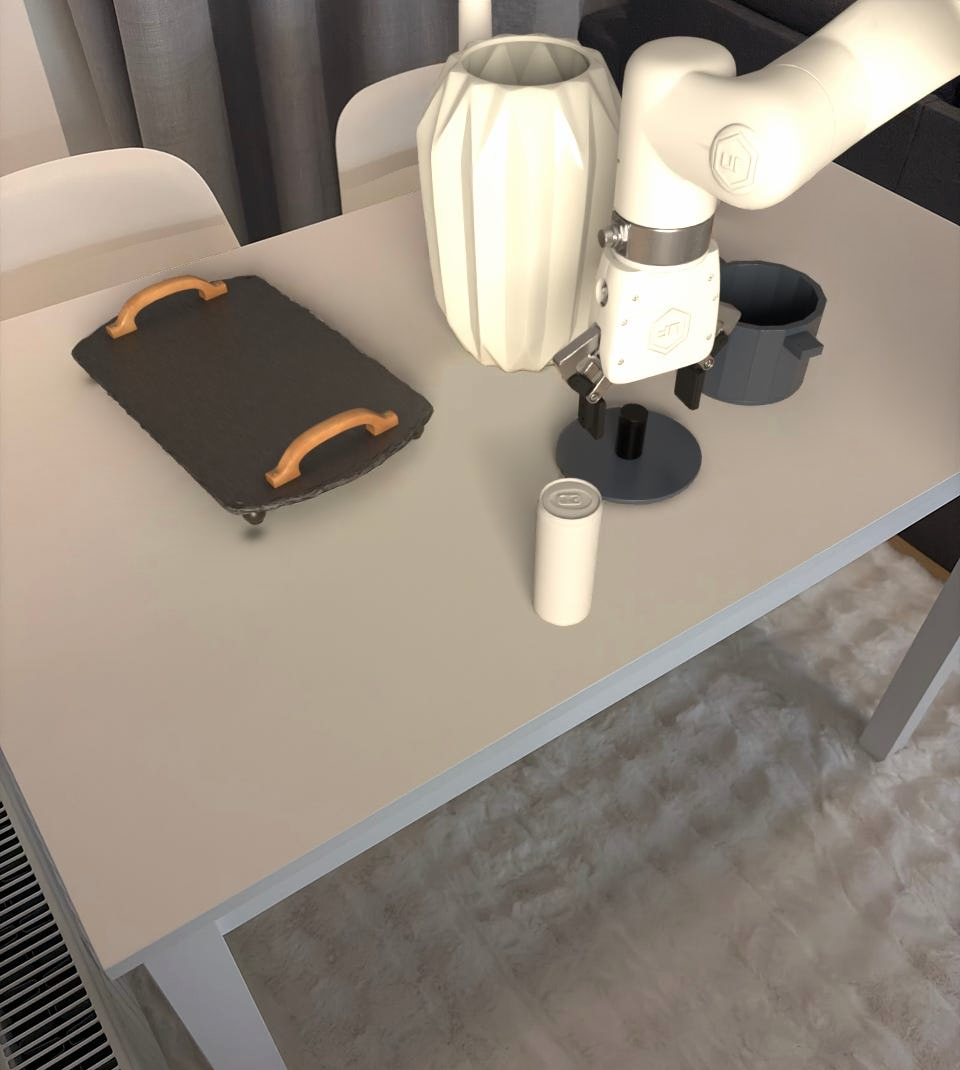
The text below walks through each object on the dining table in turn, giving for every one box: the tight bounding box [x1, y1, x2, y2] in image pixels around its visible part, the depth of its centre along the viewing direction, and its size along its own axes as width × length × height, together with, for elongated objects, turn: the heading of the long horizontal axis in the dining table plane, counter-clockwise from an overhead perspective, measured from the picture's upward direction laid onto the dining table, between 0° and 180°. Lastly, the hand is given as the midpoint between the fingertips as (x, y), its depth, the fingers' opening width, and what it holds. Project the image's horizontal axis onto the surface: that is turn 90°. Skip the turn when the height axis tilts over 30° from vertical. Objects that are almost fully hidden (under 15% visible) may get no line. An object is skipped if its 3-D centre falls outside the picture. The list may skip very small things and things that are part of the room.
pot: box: [701, 255, 828, 406], centre depth 95 cm, size 13×18×8 cm
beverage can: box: [531, 477, 604, 627], centre depth 73 cm, size 5×5×12 cm
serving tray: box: [70, 274, 435, 526], centre depth 94 cm, size 39×23×6 cm, turn 40°
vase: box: [416, 32, 622, 374], centre depth 91 cm, size 20×20×28 cm
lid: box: [555, 402, 703, 505], centre depth 87 cm, size 14×14×6 cm
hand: (639, 416), depth 85 cm, fingers open, 9 cm apart
